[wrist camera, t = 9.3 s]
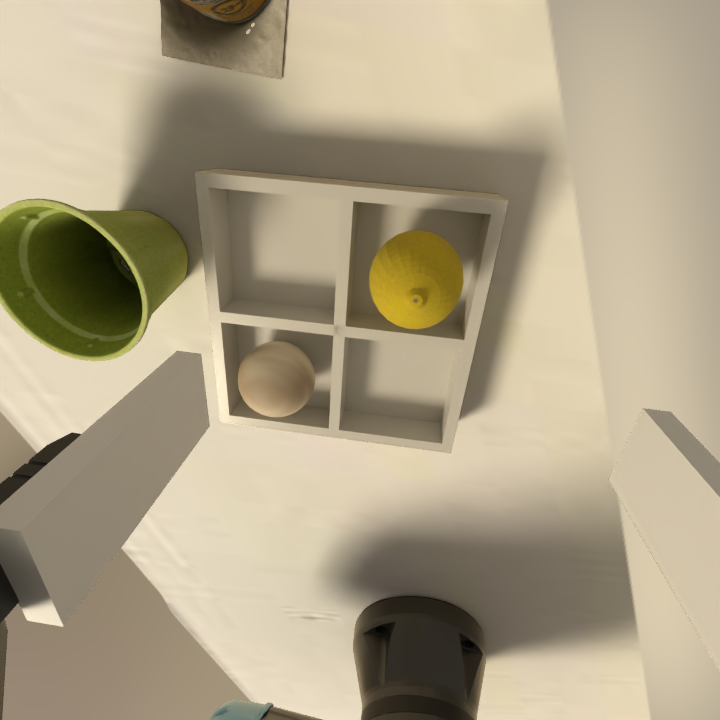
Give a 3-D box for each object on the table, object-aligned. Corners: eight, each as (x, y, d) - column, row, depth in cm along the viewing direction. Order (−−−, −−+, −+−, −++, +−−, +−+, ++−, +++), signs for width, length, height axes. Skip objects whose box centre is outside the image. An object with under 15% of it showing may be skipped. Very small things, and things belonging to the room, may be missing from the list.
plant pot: (155, 157, 28) (57, 163, 20) (236, 280, 31) (178, 324, 24) (64, 224, 31) (-51, 251, 23) (147, 329, 34) (71, 383, 27)
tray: (447, 426, 35) (450, 453, 32) (236, 398, 36) (220, 422, 33) (497, 194, 26) (508, 201, 23) (218, 168, 28) (193, 171, 25)
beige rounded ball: (320, 395, 34) (305, 437, 29) (254, 386, 35) (228, 427, 30) (323, 333, 32) (306, 369, 27) (251, 325, 32) (221, 358, 27)
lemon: (454, 214, 27) (469, 239, 19) (458, 297, 29) (472, 345, 22) (369, 226, 27) (354, 254, 20) (380, 305, 30) (369, 354, 23)
